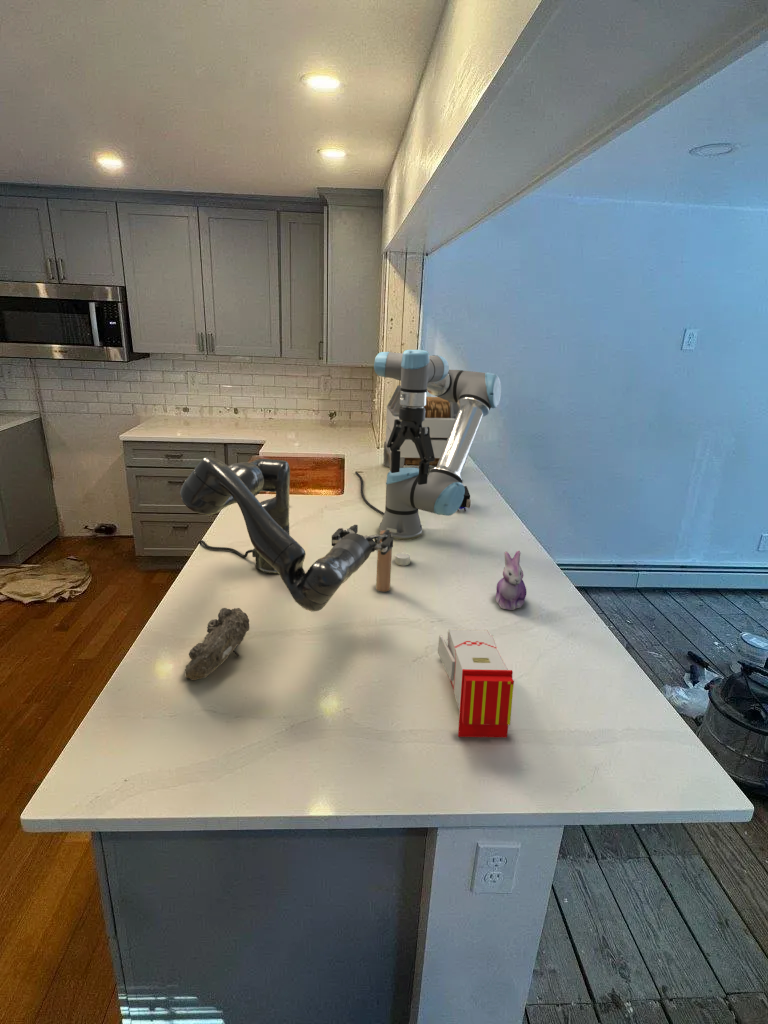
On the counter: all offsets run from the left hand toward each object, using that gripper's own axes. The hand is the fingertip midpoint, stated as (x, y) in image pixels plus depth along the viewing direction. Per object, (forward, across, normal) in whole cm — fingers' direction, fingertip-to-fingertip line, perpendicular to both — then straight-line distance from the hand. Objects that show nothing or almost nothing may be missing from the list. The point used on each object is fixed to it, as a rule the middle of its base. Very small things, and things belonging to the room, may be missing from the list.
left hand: (372, 530), depth 143 cm
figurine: (+17, +35, -22) cm, 45 cm away
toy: (-26, +31, -22) cm, 46 cm away
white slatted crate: (+132, -21, -22) cm, 136 cm away
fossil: (-33, -23, -22) cm, 46 cm away
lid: (+30, 0, -20) cm, 36 cm away
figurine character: (+90, +7, -22) cm, 93 cm away
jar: (+12, 0, -22) cm, 25 cm away
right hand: (+31, 0, +6) cm, 31 cm away
